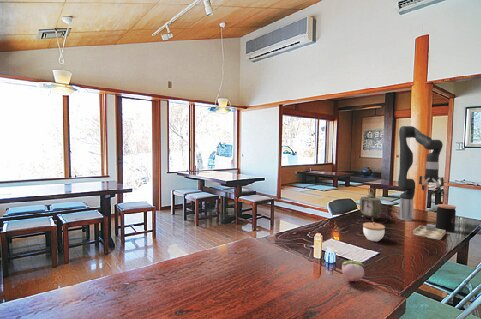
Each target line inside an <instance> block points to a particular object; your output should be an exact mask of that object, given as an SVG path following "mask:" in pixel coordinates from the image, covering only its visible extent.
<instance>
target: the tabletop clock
mask: <svg viewBox="0 0 481 319" xmlns="http://www.w3.org/2000/svg"><path fill="white" fill-rule="evenodd" d="M369 190H372V191H373V192H372V191H369ZM367 192H368V194H367V196H361V197H360V200H359V212H360V213H361V214H362V215H361V217H362V218H364V217H365V216H366V217H367V216H368V217H370V218H371V221H372V222H375V221H374V217H375V216H376V217H377V216H380V215H381V214H382V200H381V199H380V198H378V197H375V190H374V189H373V188H368V189H367Z"/></svg>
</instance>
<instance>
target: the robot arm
mask: <svg viewBox="0 0 481 319" xmlns="http://www.w3.org/2000/svg"><path fill="white" fill-rule="evenodd" d="M398 136H399V172H398V181H397V185H398V188H399V190H401V191H403V193H400V195H399V207H398V213H397V214H398V215H397V219H398V220H402V221H406V222H407V221H408V222H410V221H413V210H414V197H415V193H416V181H415V179H413V178H408V173H409V170H410V169H411V167H412V165H413V164H414V153H413V151H412V150H411V148H410V147H409V145H408V142H407V139H408V138H409V139H411V138H413V139H415V141H416V143H419V144H420V145H422V146H423V148H424V149H426V150H428V151H431V150H432V152H428V153H427V154H426V160H425V168H424V169H425V171H424V172H425V174H424V175H420V176H419V180H418V184H419V185H421V190H422V191H423V192H425V190H426V184H427V183H429V184H430V183H432V184H435V185H436V186H437V188H436V191H437V193H439V192H441V187H444V186H445V178H444V177H440V176H439V168H440V166H439V165H440V163H439V160H440V158H439V157H440V155H441V151H442V149H443V146H444V145H443V142H442V140H440V139H432V137H430V136H428V135H426V134H424V133H422V132H421V131H420V130H419V129H418V128H417V127H415V126H413V125H410V126H409V125H403V126H400V128H399V129H398ZM423 179H424V180H423ZM439 181H440V182H439Z"/></svg>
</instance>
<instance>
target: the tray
mask: <svg viewBox="0 0 481 319" xmlns="http://www.w3.org/2000/svg"><path fill="white" fill-rule="evenodd" d="M426 226H427V225H426ZM426 226H424V225H419V226H417V227H416V228H415V229H413V230H412V235H415V236H421V237H425V238H428V239H434V240H438V241H440V240H441V239H442V238H443V237H444V236H445V235H446V233H447V232H446V230H441V229H436V232H435V231H430V230H426Z"/></svg>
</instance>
